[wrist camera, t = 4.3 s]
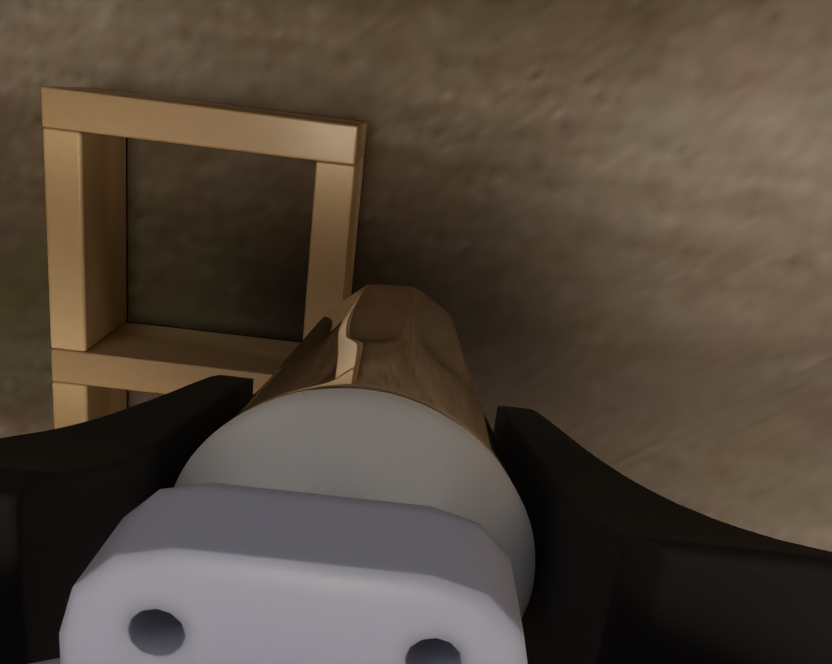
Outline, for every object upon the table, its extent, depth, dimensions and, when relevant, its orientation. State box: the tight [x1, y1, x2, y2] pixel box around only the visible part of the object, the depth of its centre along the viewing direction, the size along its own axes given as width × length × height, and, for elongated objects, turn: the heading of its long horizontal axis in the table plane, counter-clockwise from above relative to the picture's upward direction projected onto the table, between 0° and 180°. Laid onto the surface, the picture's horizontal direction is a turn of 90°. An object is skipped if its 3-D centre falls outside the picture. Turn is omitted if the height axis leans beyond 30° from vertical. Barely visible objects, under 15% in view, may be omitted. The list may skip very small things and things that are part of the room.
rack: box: [41, 87, 367, 429], centre depth 22 cm, size 15×8×3 cm, turn 173°
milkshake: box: [174, 284, 535, 618], centre depth 12 cm, size 5×5×10 cm
